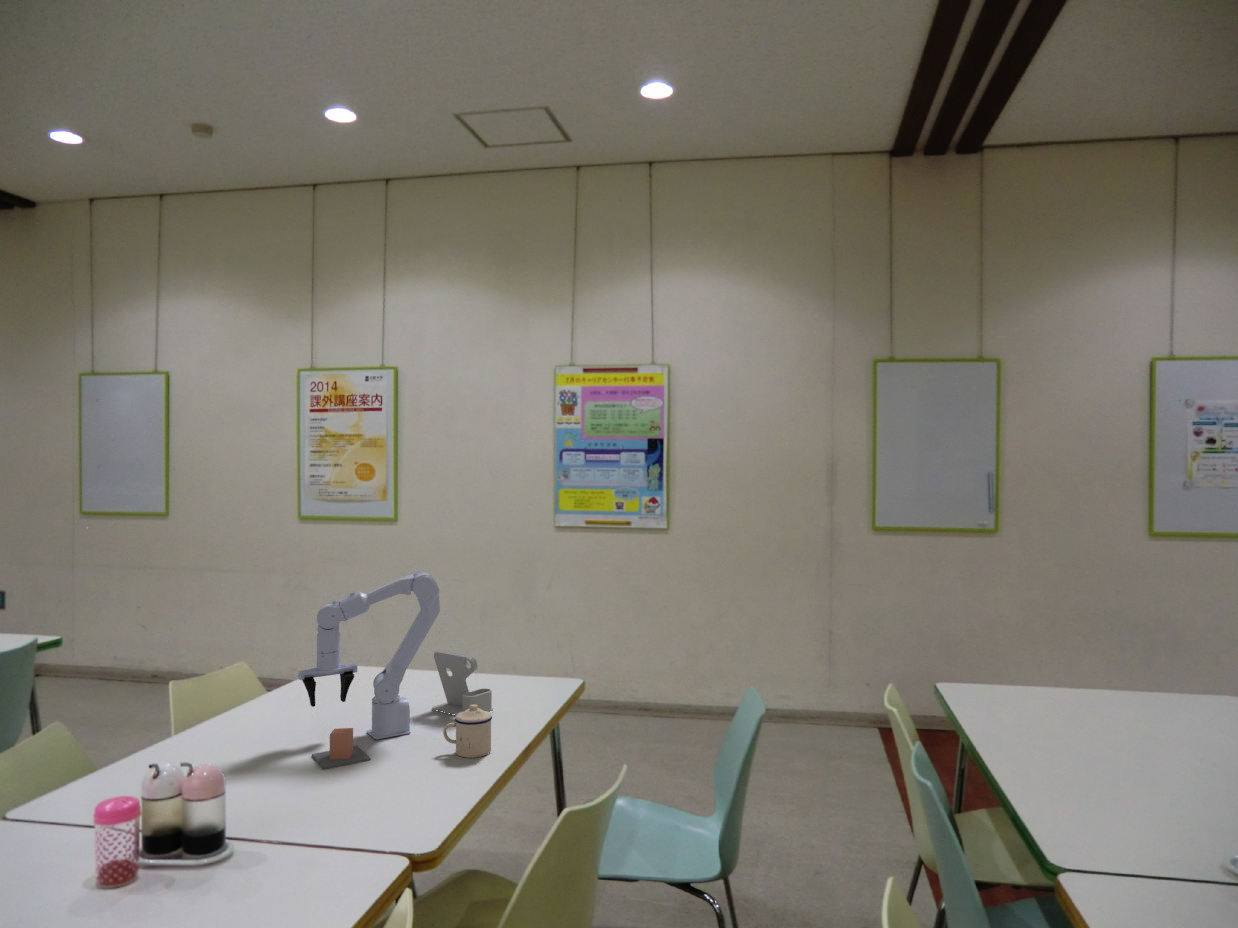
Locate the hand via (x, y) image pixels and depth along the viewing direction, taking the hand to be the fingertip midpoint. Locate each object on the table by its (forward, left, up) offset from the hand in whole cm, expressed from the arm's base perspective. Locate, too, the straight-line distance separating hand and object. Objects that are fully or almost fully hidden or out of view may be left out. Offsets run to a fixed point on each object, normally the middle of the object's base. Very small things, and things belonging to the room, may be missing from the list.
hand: (328, 703), depth 204 cm
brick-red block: (+1, +16, -9) cm, 18 cm away
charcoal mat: (+1, +16, -9) cm, 19 cm away
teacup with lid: (-26, +30, -10) cm, 41 cm away
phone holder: (-39, -4, -10) cm, 41 cm away
